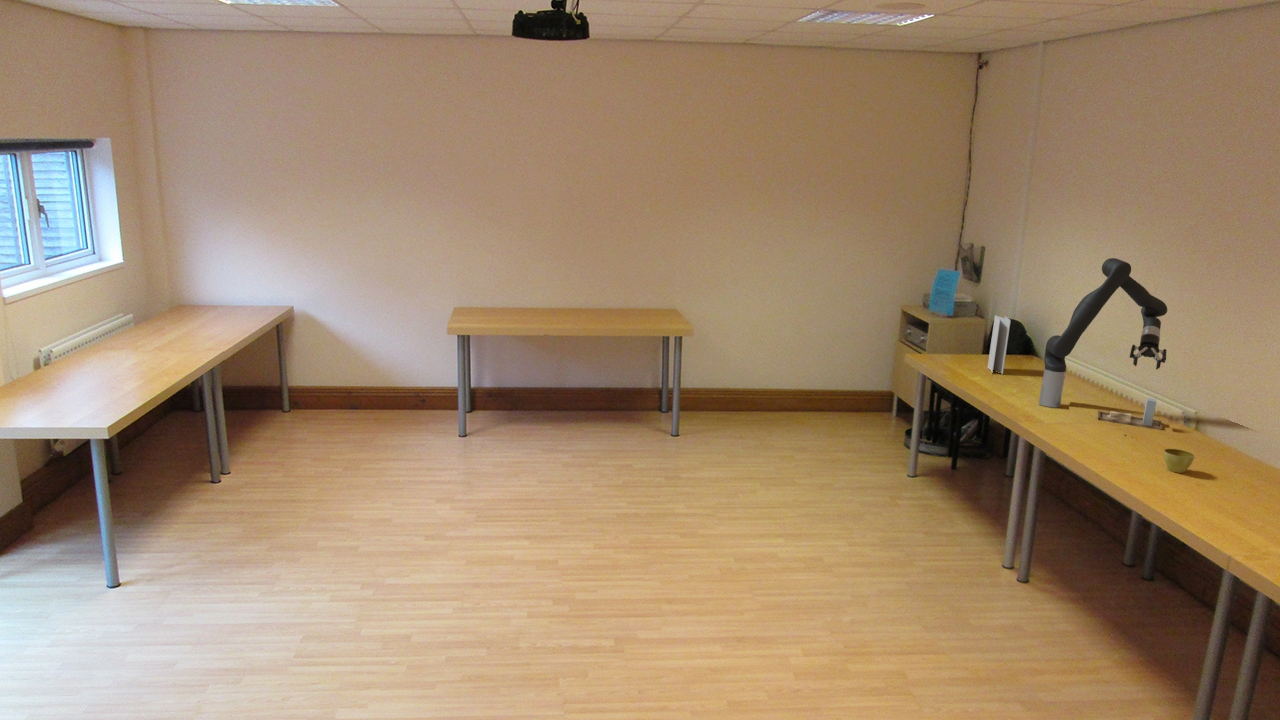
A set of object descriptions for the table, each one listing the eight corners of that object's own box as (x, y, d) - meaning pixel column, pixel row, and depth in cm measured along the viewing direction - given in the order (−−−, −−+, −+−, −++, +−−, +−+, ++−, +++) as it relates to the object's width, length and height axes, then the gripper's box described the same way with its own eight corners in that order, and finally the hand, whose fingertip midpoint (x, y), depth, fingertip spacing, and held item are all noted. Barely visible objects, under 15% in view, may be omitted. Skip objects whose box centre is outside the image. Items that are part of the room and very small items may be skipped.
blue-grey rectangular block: (1143, 424, 387) (1147, 400, 385) (1142, 421, 392) (1146, 397, 389) (1151, 425, 386) (1156, 401, 383) (1151, 422, 390) (1155, 399, 388)
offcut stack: (1106, 420, 390) (1108, 412, 389) (1106, 419, 393) (1108, 410, 392) (1129, 424, 386) (1131, 415, 385) (1129, 422, 389) (1131, 413, 388)
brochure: (1002, 374, 476) (1010, 320, 469) (992, 374, 477) (999, 319, 470) (997, 369, 489) (1005, 316, 483) (987, 368, 490) (994, 315, 484)
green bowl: (1154, 465, 336) (1157, 448, 335) (1179, 466, 337) (1182, 448, 336) (1172, 475, 327) (1175, 456, 325) (1197, 475, 328) (1201, 457, 326)
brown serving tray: (1097, 423, 391) (1098, 417, 390) (1097, 416, 402) (1098, 411, 402) (1161, 433, 380) (1163, 427, 380) (1160, 426, 392) (1161, 420, 391)
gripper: (1134, 330, 404) (1130, 359, 397) (1169, 335, 398) (1166, 364, 391) (1131, 340, 410) (1127, 368, 403) (1166, 345, 404) (1162, 374, 397)
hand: (1146, 366), depth 397 cm, fingers open, 8 cm apart
